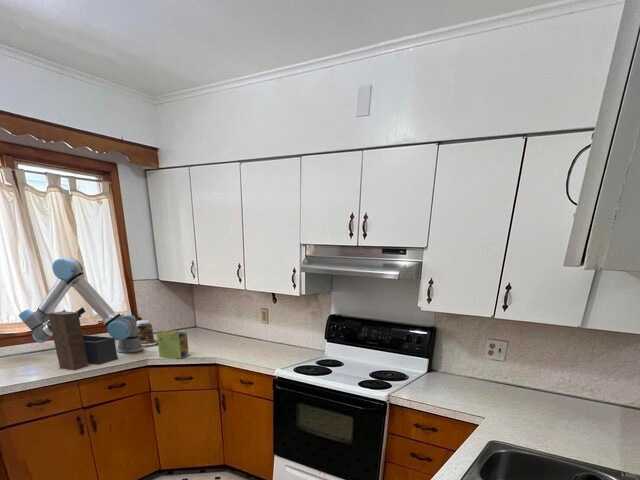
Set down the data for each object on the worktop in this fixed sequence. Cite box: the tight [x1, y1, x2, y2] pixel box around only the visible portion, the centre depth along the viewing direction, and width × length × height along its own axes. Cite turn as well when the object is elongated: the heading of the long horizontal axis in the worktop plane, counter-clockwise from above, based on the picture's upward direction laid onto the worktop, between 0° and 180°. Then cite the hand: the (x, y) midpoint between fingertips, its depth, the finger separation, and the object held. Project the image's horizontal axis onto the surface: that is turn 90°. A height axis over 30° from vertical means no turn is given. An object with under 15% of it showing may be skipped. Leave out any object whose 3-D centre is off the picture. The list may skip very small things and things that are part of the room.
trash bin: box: [82, 334, 119, 366], centre depth 255 cm, size 24×16×13 cm, turn 75°
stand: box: [48, 310, 89, 371], centre depth 236 cm, size 10×10×30 cm
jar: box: [136, 319, 155, 344], centre depth 308 cm, size 12×12×15 cm
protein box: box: [156, 329, 190, 359], centre depth 270 cm, size 10×15×16 cm
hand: (75, 310), depth 248 cm, fingers open, 13 cm apart
